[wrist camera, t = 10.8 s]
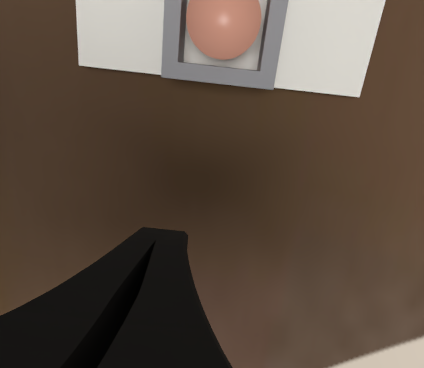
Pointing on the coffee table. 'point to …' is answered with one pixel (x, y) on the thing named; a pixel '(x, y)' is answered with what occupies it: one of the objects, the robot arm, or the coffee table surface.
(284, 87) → the activity board
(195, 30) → the button
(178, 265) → the robot arm
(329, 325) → the coffee table surface
